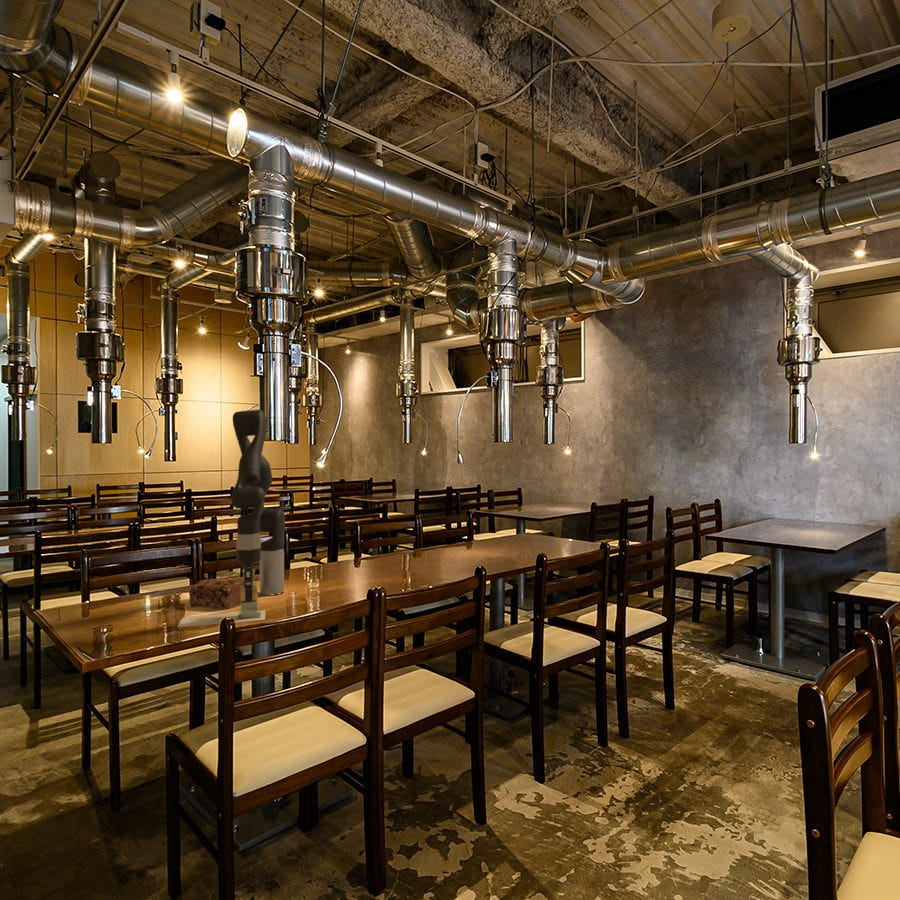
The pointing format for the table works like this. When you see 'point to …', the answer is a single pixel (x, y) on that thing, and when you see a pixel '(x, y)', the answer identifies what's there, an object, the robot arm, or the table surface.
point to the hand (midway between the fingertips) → (249, 598)
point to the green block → (249, 609)
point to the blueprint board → (217, 619)
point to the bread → (216, 593)
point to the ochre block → (254, 591)
